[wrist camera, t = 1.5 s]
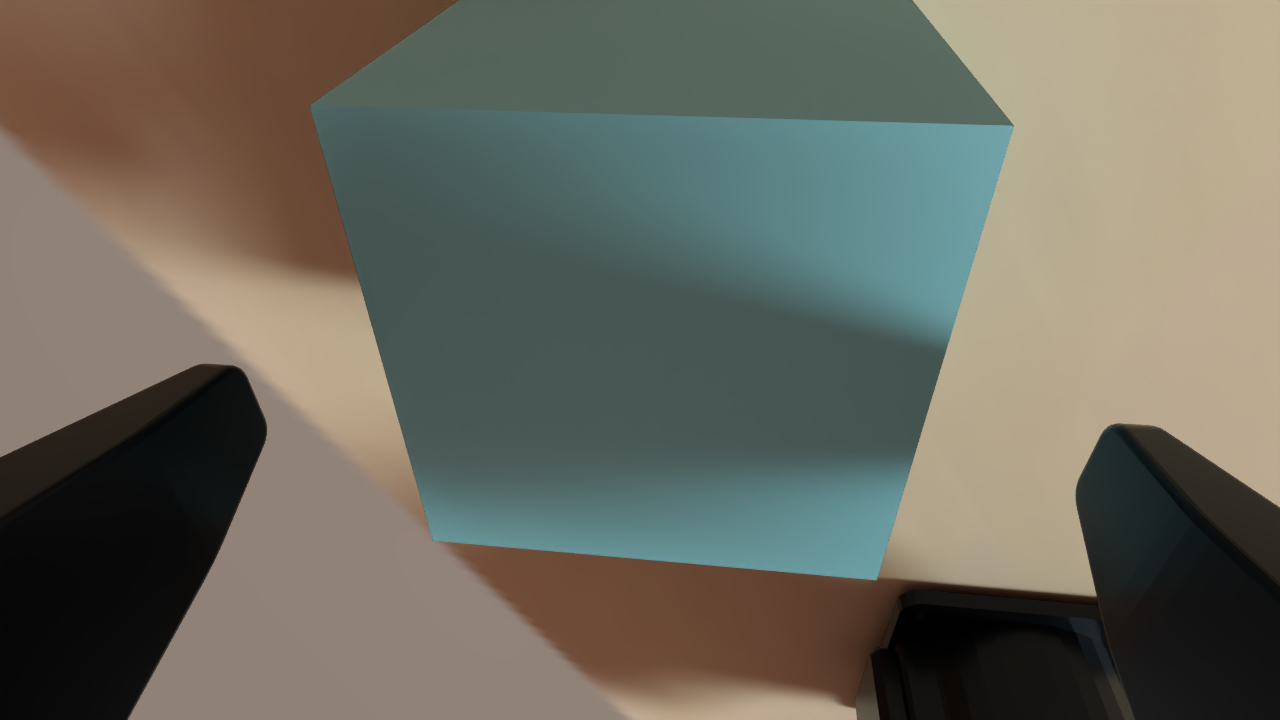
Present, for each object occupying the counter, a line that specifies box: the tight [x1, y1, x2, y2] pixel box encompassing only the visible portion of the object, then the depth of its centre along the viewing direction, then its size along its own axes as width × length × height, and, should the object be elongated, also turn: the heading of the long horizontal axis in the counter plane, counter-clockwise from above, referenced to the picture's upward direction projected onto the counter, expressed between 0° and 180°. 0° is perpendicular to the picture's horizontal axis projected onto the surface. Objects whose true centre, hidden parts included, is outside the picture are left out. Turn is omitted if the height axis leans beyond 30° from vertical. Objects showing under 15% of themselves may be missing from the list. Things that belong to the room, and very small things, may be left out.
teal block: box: [309, 0, 1014, 580], centre depth 10 cm, size 6×6×6 cm
